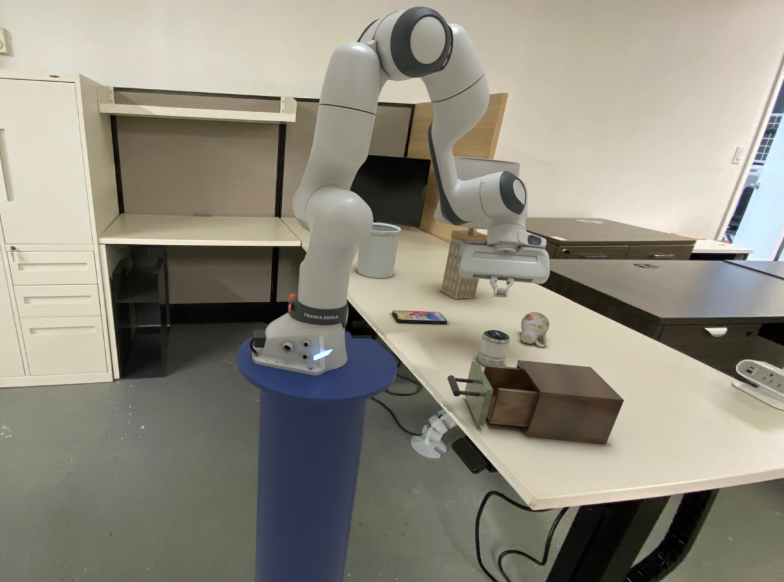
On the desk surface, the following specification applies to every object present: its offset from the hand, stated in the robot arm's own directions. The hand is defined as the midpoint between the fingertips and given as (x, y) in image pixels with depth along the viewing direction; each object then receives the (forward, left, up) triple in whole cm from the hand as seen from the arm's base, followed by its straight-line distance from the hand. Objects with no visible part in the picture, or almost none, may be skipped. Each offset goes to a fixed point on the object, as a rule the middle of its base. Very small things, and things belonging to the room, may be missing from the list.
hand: (500, 296), depth 110 cm
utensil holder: (-25, +66, -16) cm, 72 cm away
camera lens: (0, -3, -16) cm, 16 cm away
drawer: (-6, -27, -15) cm, 31 cm away
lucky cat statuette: (+16, +14, -16) cm, 27 cm away
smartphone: (-14, +22, -16) cm, 31 cm away
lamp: (+3, +49, -16) cm, 52 cm away
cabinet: (+6, -27, -16) cm, 32 cm away
